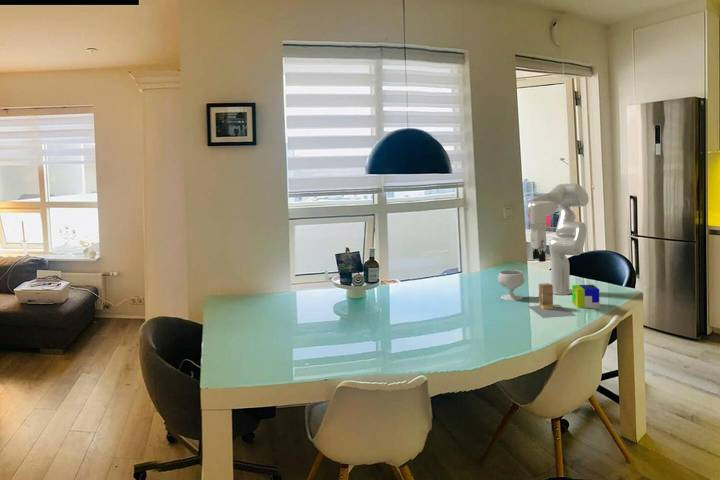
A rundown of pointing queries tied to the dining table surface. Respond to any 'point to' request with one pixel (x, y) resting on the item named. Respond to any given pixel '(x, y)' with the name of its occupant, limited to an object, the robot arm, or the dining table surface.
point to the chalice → (511, 283)
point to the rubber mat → (552, 311)
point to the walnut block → (546, 296)
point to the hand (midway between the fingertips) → (539, 260)
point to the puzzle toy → (585, 296)
